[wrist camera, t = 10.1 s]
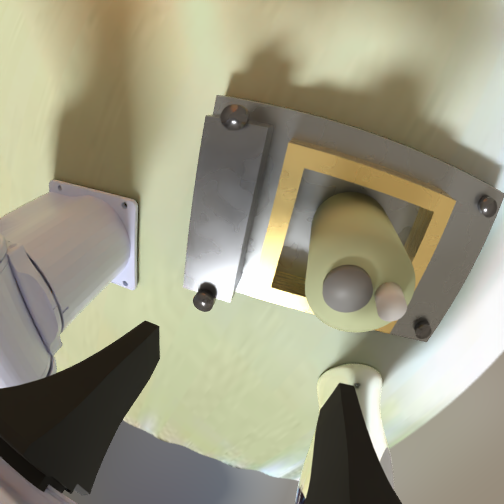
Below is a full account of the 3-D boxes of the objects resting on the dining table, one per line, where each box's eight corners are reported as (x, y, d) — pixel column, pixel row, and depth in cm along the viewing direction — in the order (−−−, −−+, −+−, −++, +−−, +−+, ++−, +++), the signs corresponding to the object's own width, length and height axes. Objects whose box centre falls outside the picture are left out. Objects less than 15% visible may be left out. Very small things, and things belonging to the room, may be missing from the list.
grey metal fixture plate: (197, 266, 22) (171, 303, 18) (224, 95, 16) (194, 93, 12) (422, 329, 20) (435, 372, 16) (494, 187, 14) (530, 212, 10)
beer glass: (379, 350, 22) (387, 531, 9) (391, 395, 24) (395, 541, 11) (300, 369, 25) (269, 535, 12) (324, 410, 27) (306, 547, 14)
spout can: (304, 257, 18) (292, 337, 12) (319, 184, 16) (317, 236, 10) (376, 272, 18) (395, 354, 11) (398, 202, 15) (439, 263, 9)
